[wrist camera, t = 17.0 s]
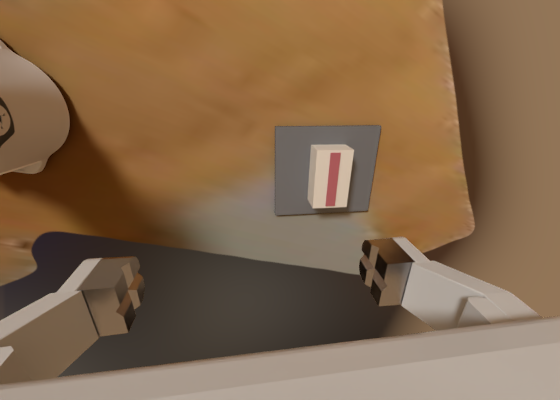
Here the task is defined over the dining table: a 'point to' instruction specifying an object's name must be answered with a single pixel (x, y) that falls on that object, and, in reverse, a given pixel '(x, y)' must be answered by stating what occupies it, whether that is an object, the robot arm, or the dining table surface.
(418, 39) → the dining table surface
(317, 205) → the card deck
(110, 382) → the robot arm
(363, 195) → the mat
